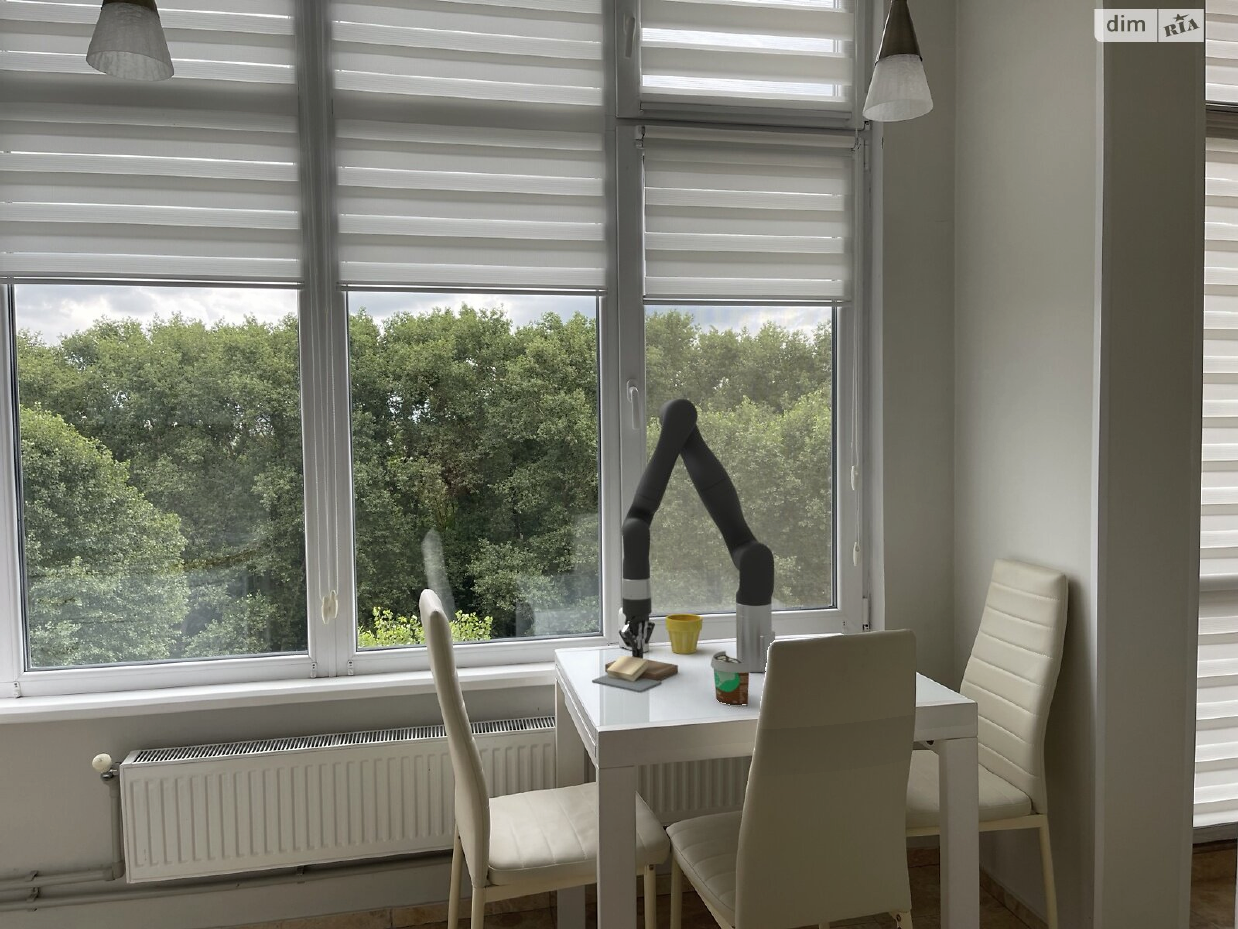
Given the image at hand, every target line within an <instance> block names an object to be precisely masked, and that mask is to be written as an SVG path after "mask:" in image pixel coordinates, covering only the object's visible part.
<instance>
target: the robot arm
mask: <svg viewBox="0 0 1238 929" xmlns="http://www.w3.org/2000/svg"><path fill="white" fill-rule="evenodd" d="M658 412H659V413H658V421H659V424H660V426H661V427H660V428H661V429H660V431H659V432H660V433H659V435H658V436H659V438H658V441H657V443H656V446H655V448H654V451H653V453H652V454H651V457H650V459H649V460H648V463H647V464H646V467H645V468H644V470H643V473H642V475H641V477H640V479H639V482H638V485H637V487H636V490H635V494H634V496H633V499H632V500H633V501H632V502H631V506H630V507H629V509H628V511H627V513H626V516H625V519H624V520H623V522H622V526H621V535H622V543H623V546H622V547H623V548H622V549H623V559H622V585H621V596H622V597H621V601H622V602H621V605H622V606H621V608H622V612H623V614H624V615H625V616H626V620H625V627H624V629H623V630H619V629H618V635H619V634H620V636H621V638H622V639H623V641H624V643H625V644H626V646H627V647H631V648H632V650H631V655H632V656H631V657H637V658H642V659H644V652H643V648H644V646H645V644H648V642H649V643H650V639H651V636H652V634H653V632H654V629H655V626H656V623H655V622H652V621H651V620H650V614H652V608H653V607H652V584H651V564H650V563H651V562H650V549H651V548H650V547H651V530H650V528H651V525H652V522H653V520H654V517H655V515H656V512H658V510H659V508H660V506H661V503H662V502H663V498H664V495H665V492H666V490H667V487H668V485H669V482H670V478H671V475H672V473H673V470H674V468H675V465H676V462H677V460H678V458H679V457H681V460H682V461H683V464H684V467H685V469H686V472H687V473H688V476H689V479H690V480H691V482H692V484H693V487H694V489H695V491H696V493H697V495H698V497H699V499H700V500H701V502H702V504H703V506H704V507H705V510H706V511H707V513H708V515H709V516H710V518H711V519H712V521H713V522H714V524H715V526H716V528H718V530H719V532H720V534H721V536H722V538H723V541H724V544H725V546H726V547H727V551H728V553H729V556H730V558H731V560H732V564H733V565H734V566H735V568H736V569H737V570H738V571H739V583H738V584H739V585H738V589H737V591H736V593H735V628H736V629H735V633H736V635H735V636H736V640H735V641H736V642H735V643H736V645H735V646H736V650H735V651H736V659H737V660H739V661H740V662H741V663H749V666H750V671H751V672H750V673H764V674H765V673H766V672H765V667H766V663H767V650H768V647H769V646H770V643H772V642H773V641H774V640H775V641H776V632H775V630H773V616H772V615H773V613H772V611H773V610H772V609H773V608H772V607H773V606H772V598H773V594H774V591H775V559H774V558H775V557H774V554H773V552H772V549H770V547H769V546H767V545H766V544H764V543H761V542H760V541H759V540H758V539H757V538H756V536H755V534H754V533H753V532H752V530H751V528H750V527H749V525H748V523H747V521H746V518H745V516H744V514H743V510H742V506H741V502H740V498H739V495H738V492H737V489H736V487H735V486H734V482H733V481H732V479H731V478H730V476H729V474H728V472H727V470H726V468H725V467H724V466H723V464H722V463H721V461H720V460H719V458H718V457H717V455H715V454H714V452H713V451H712V450H711V449H710V447H709V446H708V444H707V443H706V441H705V439H704V438H703V436H702V433H701V430H700V429H699V427H698V425H697V422H698V416H699V414H698V411H697V408H696V406H695V404H694V403H693V402H692V401H691V400H688V399H686V398H683V397H678V398H671V399H669V400H666V401H665V402H664V403H663V404H662V405H661V406H660V409H659V411H658ZM679 455H680V456H679ZM634 640H635V641H634Z"/></svg>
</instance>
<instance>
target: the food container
mask: <svg viewBox="0 0 1238 929" xmlns="http://www.w3.org/2000/svg"><path fill="white" fill-rule="evenodd" d="M710 667H711V668H712V669H713V677H714V689H715V690H714V692H715V700H716V699H717V700H718V701H719V702H722V703H726V704H730V705H742V704H748V705H749V702H748V701H749V682H750V673H752V672H751V671H750V666H749V663H741V662H740V661H739V660H737V658H735V657H730V656H728V655H727V651H726V650H724V651H719V652H716V653H714V654H713V655H712V657H711V660H710ZM717 700H716V701H717ZM718 701H717V702H718ZM719 702H718V703H719ZM730 705H729V706H730Z"/></svg>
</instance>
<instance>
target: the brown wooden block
mask: <svg viewBox="0 0 1238 929" xmlns="http://www.w3.org/2000/svg"><path fill="white" fill-rule="evenodd" d="M647 660H648V663H649V667H648V668H647V669H646V670H645V671H644V672H643V673H642V674H641V675H640V676H639V677H641V678H646V679H651V680H656V681H661V680H664V679H666V678H669V677H671V676H673V675H676V674H678V673H679V665H678V664H674V663H669V662H664V661H657V660H652V659H647ZM615 661H616V660H614V661H610V662H608V663H606V664H605V665H604V668H605V669H604V670H605V671H604V672H605V673H607V669H608V668H609V667H610V666H611V665H612V664H613V663H614V662H615Z"/></svg>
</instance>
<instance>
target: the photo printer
mask: <svg viewBox="0 0 1238 929" xmlns="http://www.w3.org/2000/svg"><path fill="white" fill-rule="evenodd" d="M617 619H618V620H617V621H618V622H617V623H618V624H617V625H618V631H619V630H623V629H624V627H625V620H626V616H625V615H624V614H623V612H622V607H620V608H619V610H618V616H617ZM634 641H635V640H634ZM618 647H620V648H622V647H624V648H623V649H625V648H626V649H627V650H629V651H632V648H631V647H627V646H626V644H625V643H624V641H623V639H622V638H621V636H620V634H619V633H618ZM649 649H650V641H649V642H648V644H645V646H644V648H643V653H646V652H648V651H649Z"/></svg>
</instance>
